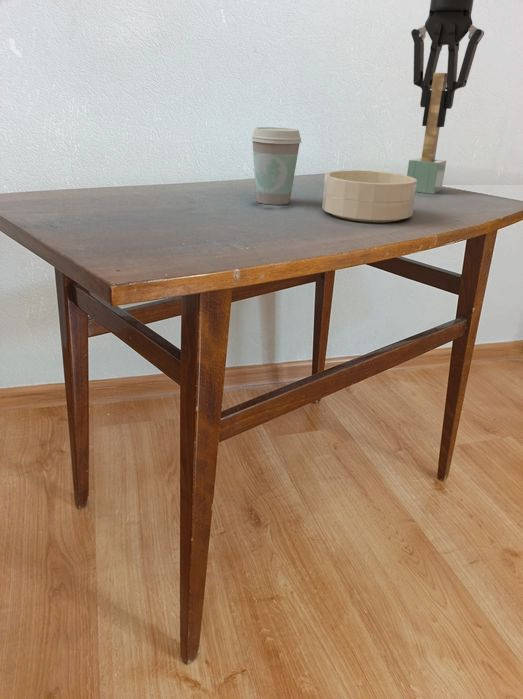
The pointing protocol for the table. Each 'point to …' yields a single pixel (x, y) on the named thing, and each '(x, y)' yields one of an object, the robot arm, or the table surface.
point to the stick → (433, 117)
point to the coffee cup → (275, 163)
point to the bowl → (369, 195)
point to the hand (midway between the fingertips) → (433, 126)
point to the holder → (427, 174)
